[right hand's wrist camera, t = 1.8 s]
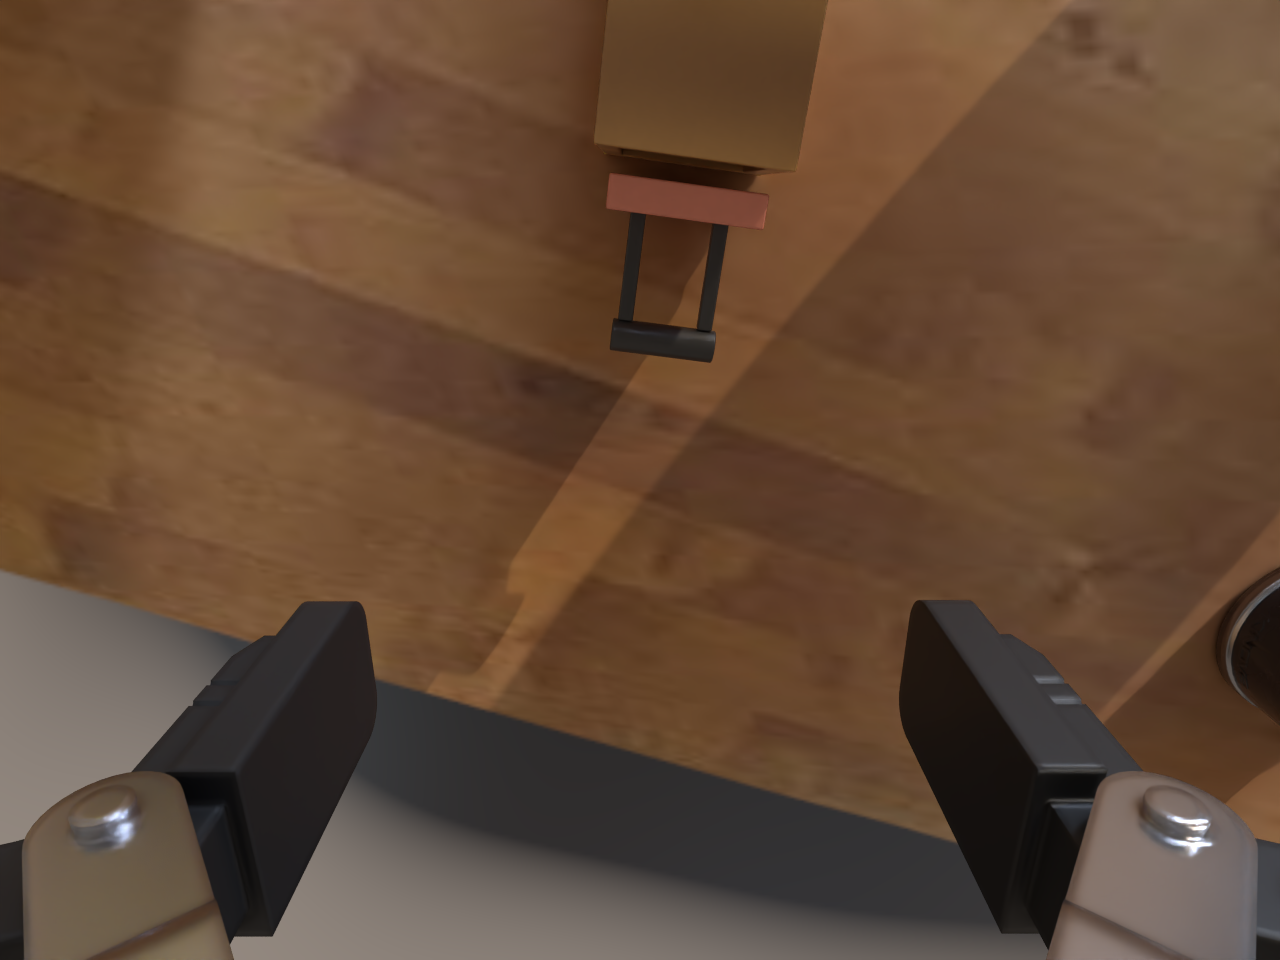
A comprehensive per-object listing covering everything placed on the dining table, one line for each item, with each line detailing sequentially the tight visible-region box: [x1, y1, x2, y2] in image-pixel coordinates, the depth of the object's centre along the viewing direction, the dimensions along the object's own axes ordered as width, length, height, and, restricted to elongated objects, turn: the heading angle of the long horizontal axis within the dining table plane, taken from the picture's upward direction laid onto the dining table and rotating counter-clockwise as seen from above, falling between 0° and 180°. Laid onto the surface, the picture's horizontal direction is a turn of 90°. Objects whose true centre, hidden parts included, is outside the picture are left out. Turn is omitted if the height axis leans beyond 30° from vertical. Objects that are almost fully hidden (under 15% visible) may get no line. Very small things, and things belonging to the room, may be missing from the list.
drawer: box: [606, 173, 769, 363], centre depth 28 cm, size 26×6×7 cm, turn 173°
